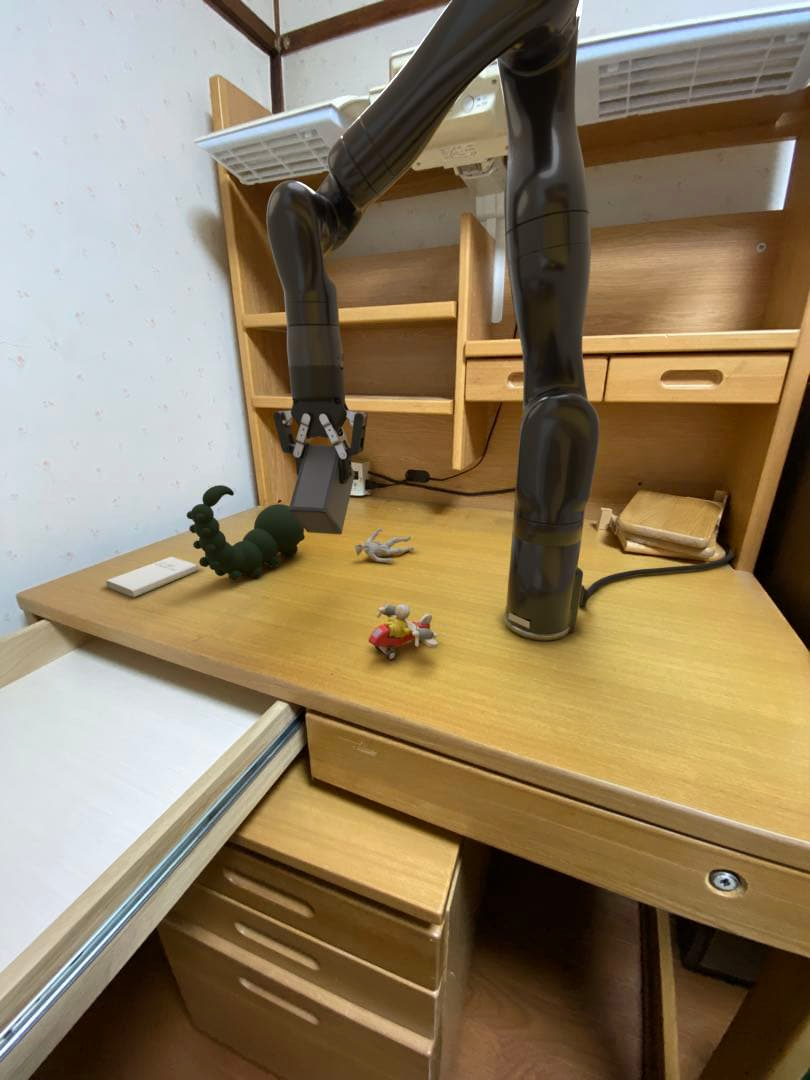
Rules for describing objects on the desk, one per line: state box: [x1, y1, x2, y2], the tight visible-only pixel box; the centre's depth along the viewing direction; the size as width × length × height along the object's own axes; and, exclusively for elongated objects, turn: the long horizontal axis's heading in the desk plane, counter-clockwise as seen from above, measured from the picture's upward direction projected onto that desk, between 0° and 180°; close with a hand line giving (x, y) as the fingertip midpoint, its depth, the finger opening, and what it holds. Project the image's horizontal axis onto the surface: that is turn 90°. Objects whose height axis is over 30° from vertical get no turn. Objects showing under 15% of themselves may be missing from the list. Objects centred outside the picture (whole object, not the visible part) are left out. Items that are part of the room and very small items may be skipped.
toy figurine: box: [186, 484, 306, 582], centre depth 86 cm, size 9×19×25 cm
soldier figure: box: [354, 526, 415, 563], centre depth 92 cm, size 8×5×12 cm
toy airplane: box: [368, 602, 439, 661], centre depth 63 cm, size 9×9×6 cm
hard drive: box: [105, 556, 199, 598], centre depth 84 cm, size 2×8×12 cm
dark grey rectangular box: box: [288, 444, 356, 536], centre depth 70 cm, size 11×6×8 cm
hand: (324, 481), depth 70 cm, fingers closed on dark grey rectangular box, 5 cm apart
